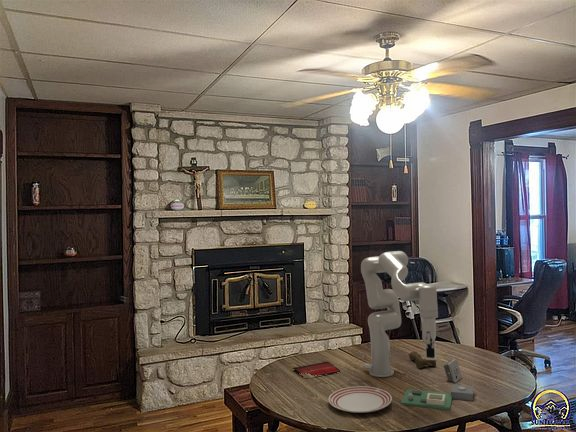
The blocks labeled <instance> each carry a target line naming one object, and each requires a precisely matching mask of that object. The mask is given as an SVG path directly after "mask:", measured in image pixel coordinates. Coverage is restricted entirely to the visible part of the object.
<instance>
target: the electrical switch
mask: <svg viewBox="0 0 576 432" xmlns="http://www.w3.org/2000/svg"><path fill="white" fill-rule="evenodd" d="M443 369H444V371H445V375H446V378H447V381H448V382H452V383H454V384H456V383H457V382H459V380H461V379H462V378H463V375H462V372H461V369H460V365H459V363H458V360H457V358H454V359H452V360H450V361H448V362H446V363H445V364H444V365H443Z"/></svg>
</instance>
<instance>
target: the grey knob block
mask: <svg viewBox="0 0 576 432" xmlns="http://www.w3.org/2000/svg"><path fill="white" fill-rule="evenodd" d="M450 393H451V396H452V400H460V401H461V400H463V401H472V402H473V401H474V386H472V385H471V386H470V385H469V386H468V385H459V384H451V389H450Z"/></svg>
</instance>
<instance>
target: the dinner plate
mask: <svg viewBox="0 0 576 432" xmlns="http://www.w3.org/2000/svg"><path fill="white" fill-rule="evenodd" d="M392 401H393V397H392V395H391V394H390V392H388V391H386V390H384V389H381V388H378V387H372V386H365V385H364V386H362V385H359V386H349V387H344V388H340V389H337V390H336V391H333V392H332V393H331V394H330V395H329V396H328V403H329V404H330V405H331V406H332V407H333V408H335V409H338V410H340V411H343V412H347V413H348V412H349V413H355V414H363V413H364V414H366V413H372V412H377V411H380V410H383V409H385V408H386V407H388V406H389V405H390V404H391V403H392Z"/></svg>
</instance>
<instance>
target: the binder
mask: <svg viewBox="0 0 576 432" xmlns="http://www.w3.org/2000/svg"><path fill="white" fill-rule="evenodd" d="M292 369H295V370H296V373H300V374H301V373H302V374H303V373H304V374H305V373H307V374H308V373H310V374H311V375H314V376H315V375H317V376H318V375H324V376H326V375H325V374H329V375H332V374H331V373H336V374H338V373H337V372H340V371H341V369H339V368H337V367H336V366H335V365H334V364H332V363H331V362H329V361H324V362H318V363H311V364H306V365H302V366H296V367H293V368H292ZM340 373H341V372H340Z"/></svg>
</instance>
